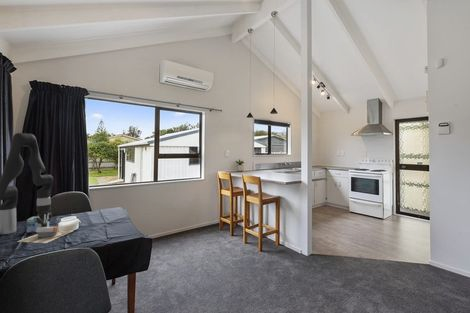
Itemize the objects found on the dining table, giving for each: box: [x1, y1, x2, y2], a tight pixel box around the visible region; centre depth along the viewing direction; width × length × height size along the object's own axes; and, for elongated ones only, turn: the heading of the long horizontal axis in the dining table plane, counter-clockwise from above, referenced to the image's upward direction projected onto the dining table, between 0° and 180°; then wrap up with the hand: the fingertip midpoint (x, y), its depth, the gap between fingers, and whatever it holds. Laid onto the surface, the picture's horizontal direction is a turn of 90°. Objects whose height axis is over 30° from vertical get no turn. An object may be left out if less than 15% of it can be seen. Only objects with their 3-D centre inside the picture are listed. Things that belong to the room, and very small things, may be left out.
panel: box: [16, 229, 73, 244], centre depth 152 cm, size 20×22×2 cm
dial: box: [36, 226, 59, 238], centre depth 152 cm, size 12×10×6 cm
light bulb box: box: [26, 216, 50, 233], centre depth 162 cm, size 11×7×11 cm, turn 105°
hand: (44, 228), depth 154 cm, fingers closed
